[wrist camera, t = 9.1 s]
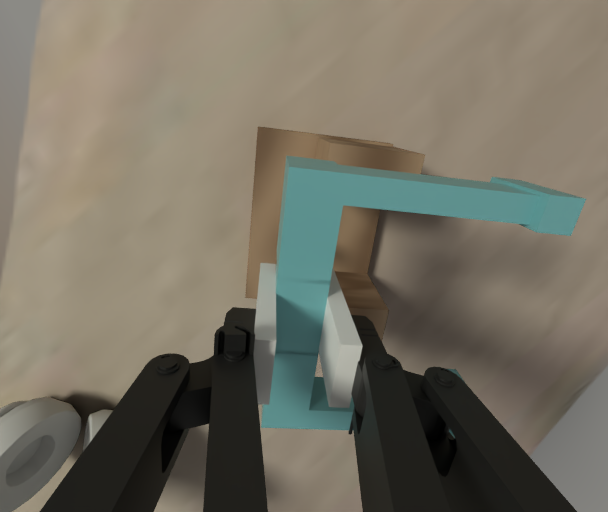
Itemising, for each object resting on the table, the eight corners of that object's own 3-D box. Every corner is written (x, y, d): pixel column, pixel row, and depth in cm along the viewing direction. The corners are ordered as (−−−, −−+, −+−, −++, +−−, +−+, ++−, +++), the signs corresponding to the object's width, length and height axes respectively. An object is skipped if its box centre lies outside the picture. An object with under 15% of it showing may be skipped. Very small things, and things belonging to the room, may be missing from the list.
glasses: (520, 180, 18) (585, 199, 14) (449, 389, 22) (483, 444, 19) (286, 152, 16) (290, 164, 13) (263, 380, 21) (260, 438, 17)
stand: (388, 143, 30) (425, 151, 23) (358, 300, 36) (380, 348, 28) (258, 126, 29) (253, 129, 22) (246, 291, 34) (238, 339, 27)
